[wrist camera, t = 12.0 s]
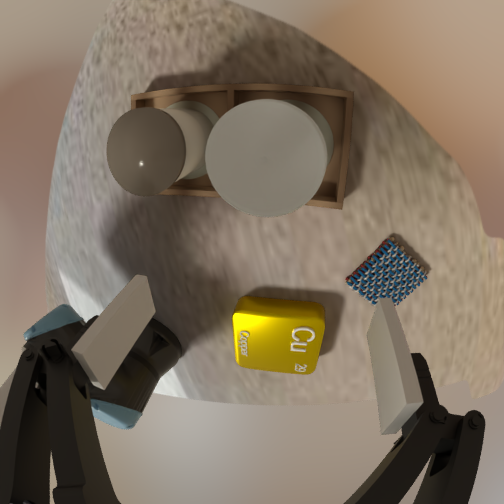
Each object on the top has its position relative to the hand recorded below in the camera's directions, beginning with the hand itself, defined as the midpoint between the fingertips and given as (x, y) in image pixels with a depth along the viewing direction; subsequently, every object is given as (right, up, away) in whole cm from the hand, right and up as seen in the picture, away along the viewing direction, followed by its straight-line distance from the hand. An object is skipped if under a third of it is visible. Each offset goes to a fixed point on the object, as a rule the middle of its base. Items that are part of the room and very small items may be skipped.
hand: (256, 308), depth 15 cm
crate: (-2, +18, +19) cm, 26 cm away
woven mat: (+21, 0, +24) cm, 32 cm away
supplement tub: (+4, +17, +17) cm, 24 cm away
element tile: (+5, -11, +34) cm, 36 cm away
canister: (-9, +18, +19) cm, 28 cm away
